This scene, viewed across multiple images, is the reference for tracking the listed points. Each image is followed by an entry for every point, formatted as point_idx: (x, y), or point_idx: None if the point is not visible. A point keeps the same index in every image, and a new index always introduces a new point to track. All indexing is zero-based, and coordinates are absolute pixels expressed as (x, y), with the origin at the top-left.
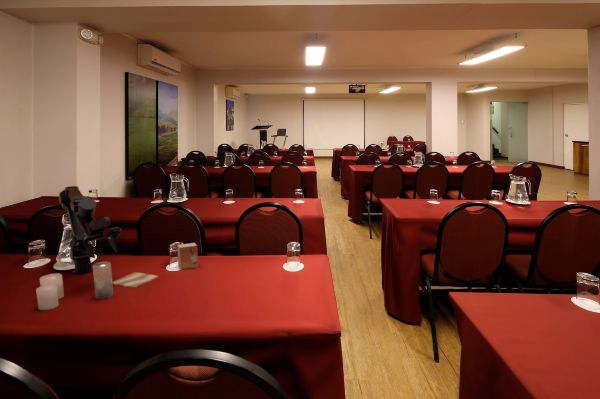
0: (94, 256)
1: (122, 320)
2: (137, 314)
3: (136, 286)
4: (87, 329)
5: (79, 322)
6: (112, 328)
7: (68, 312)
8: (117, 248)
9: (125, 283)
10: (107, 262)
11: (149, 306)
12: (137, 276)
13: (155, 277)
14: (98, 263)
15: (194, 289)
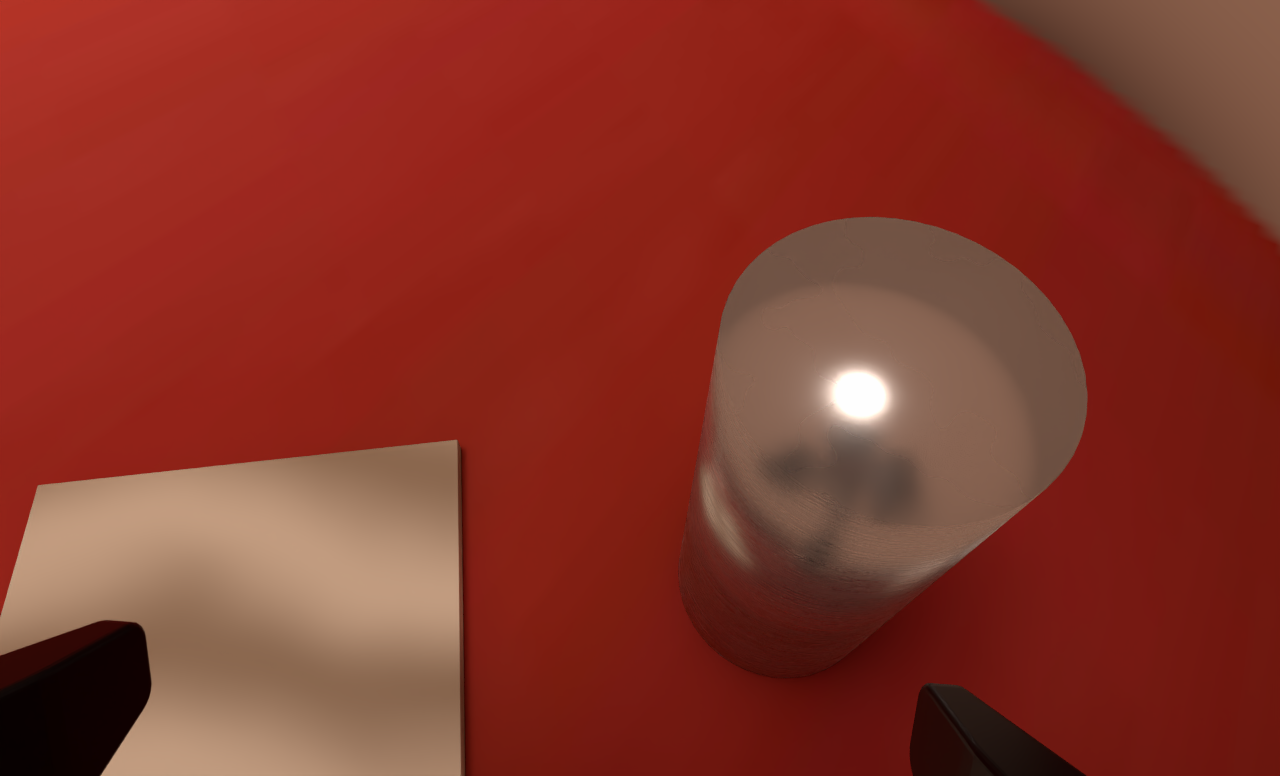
0: (954, 690)
1: (933, 78)
2: (818, 67)
3: (433, 442)
4: (1162, 147)
5: (1184, 267)
6: (1029, 52)
7: (1225, 518)
8: (33, 645)
9: (407, 649)
10: (764, 344)
11: (687, 87)
12: None
13: (95, 480)
14: (926, 449)
15: (284, 39)
